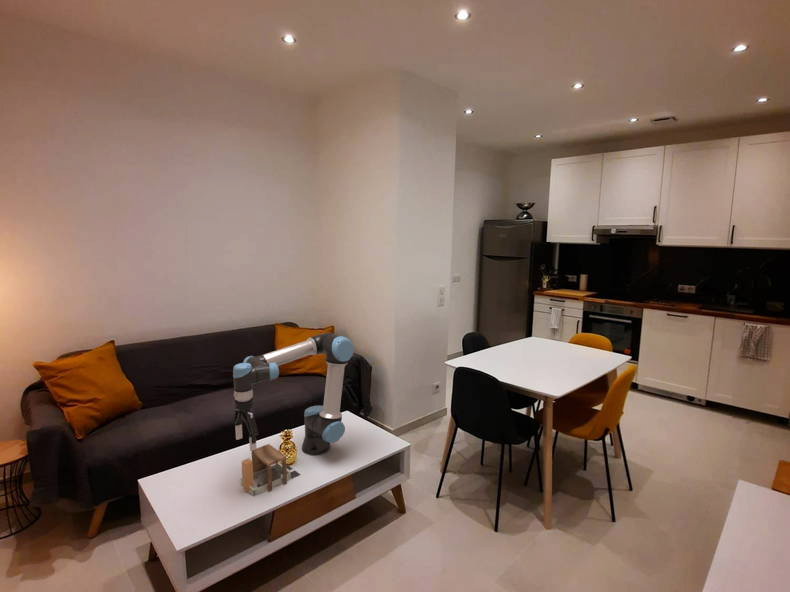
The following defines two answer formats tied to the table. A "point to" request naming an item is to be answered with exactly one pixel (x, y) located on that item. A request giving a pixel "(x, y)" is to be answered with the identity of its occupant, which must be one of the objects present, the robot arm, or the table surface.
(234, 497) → the table surface
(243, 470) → the sled
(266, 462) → the tunnel
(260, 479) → the fossilized seashell
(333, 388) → the robot arm
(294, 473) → the pits
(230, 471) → the table surface
